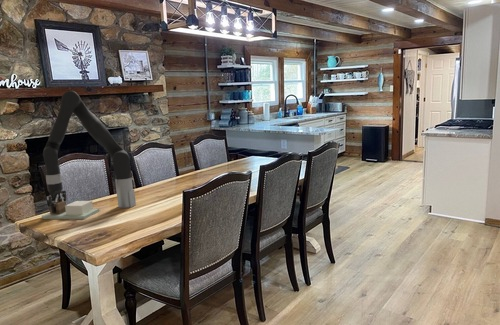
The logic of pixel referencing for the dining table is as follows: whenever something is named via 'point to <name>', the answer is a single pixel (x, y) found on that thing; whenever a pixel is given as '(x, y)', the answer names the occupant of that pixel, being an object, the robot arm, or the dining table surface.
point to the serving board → (64, 216)
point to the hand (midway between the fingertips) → (58, 211)
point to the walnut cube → (59, 208)
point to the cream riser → (79, 207)
